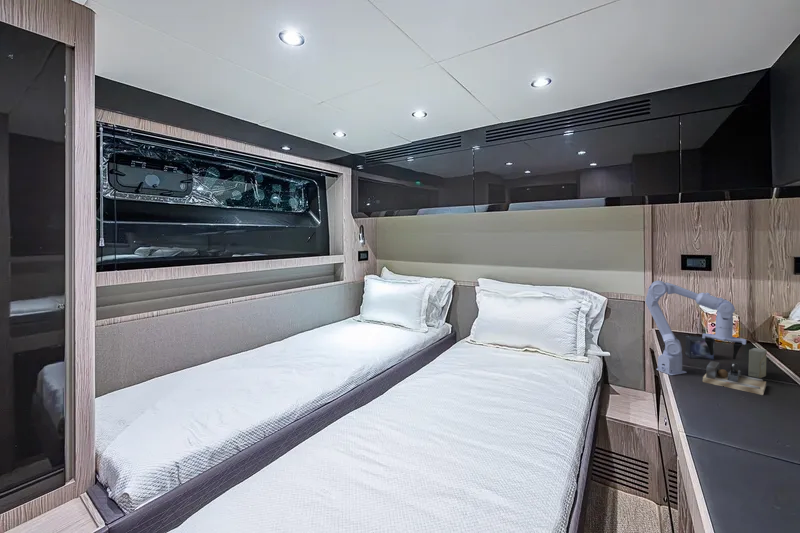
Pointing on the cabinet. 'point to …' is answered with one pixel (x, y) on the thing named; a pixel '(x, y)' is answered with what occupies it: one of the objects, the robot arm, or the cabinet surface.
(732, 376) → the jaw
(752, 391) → the press
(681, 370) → the robot arm
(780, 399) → the cabinet surface
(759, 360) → the skincare box
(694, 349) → the small box
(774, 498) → the cabinet surface
